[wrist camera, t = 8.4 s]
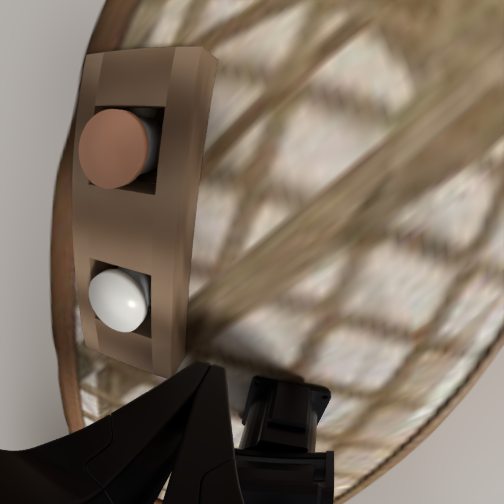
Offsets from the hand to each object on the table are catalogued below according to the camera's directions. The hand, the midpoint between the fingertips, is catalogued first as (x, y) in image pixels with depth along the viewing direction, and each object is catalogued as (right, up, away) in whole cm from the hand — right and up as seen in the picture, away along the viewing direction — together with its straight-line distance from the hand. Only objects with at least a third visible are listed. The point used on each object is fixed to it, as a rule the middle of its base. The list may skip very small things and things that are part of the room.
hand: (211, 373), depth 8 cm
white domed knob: (-7, +1, +14) cm, 16 cm away
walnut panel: (-6, +6, +12) cm, 15 cm away
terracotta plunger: (-6, +10, +10) cm, 15 cm away
